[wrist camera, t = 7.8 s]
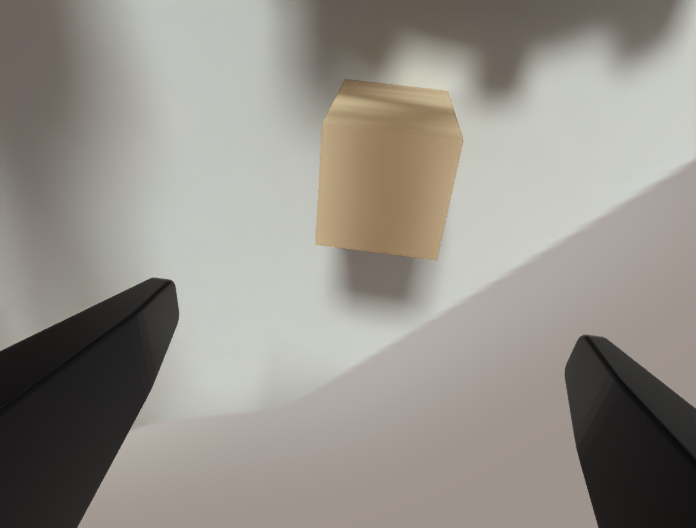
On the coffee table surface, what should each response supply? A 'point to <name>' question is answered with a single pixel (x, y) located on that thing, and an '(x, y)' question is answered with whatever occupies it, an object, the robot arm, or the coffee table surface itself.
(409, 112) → the block
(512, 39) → the coffee table surface
